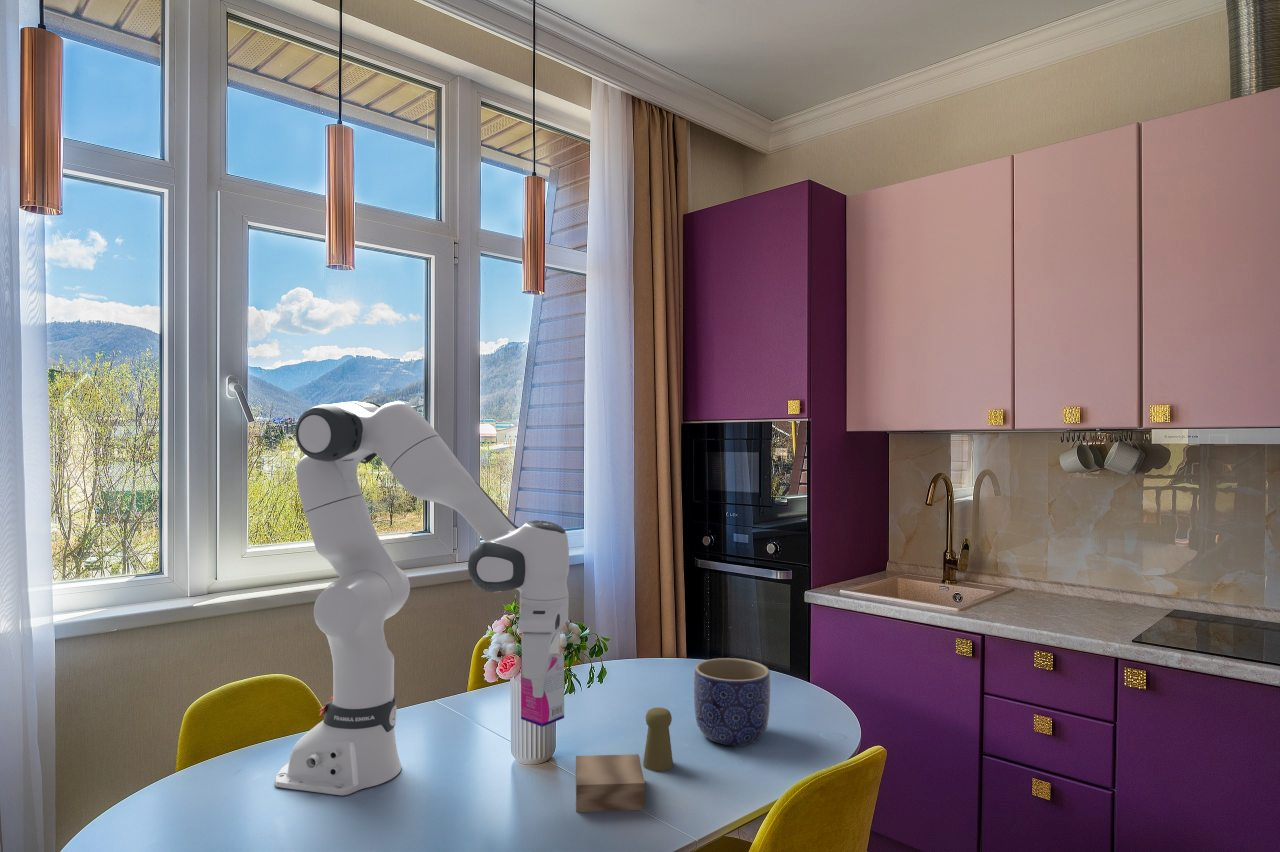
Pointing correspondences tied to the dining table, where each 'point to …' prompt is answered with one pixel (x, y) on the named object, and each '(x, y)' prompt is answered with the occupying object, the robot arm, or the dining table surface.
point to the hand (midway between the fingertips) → (542, 687)
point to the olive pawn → (658, 740)
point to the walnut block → (609, 783)
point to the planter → (732, 700)
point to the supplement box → (552, 700)
